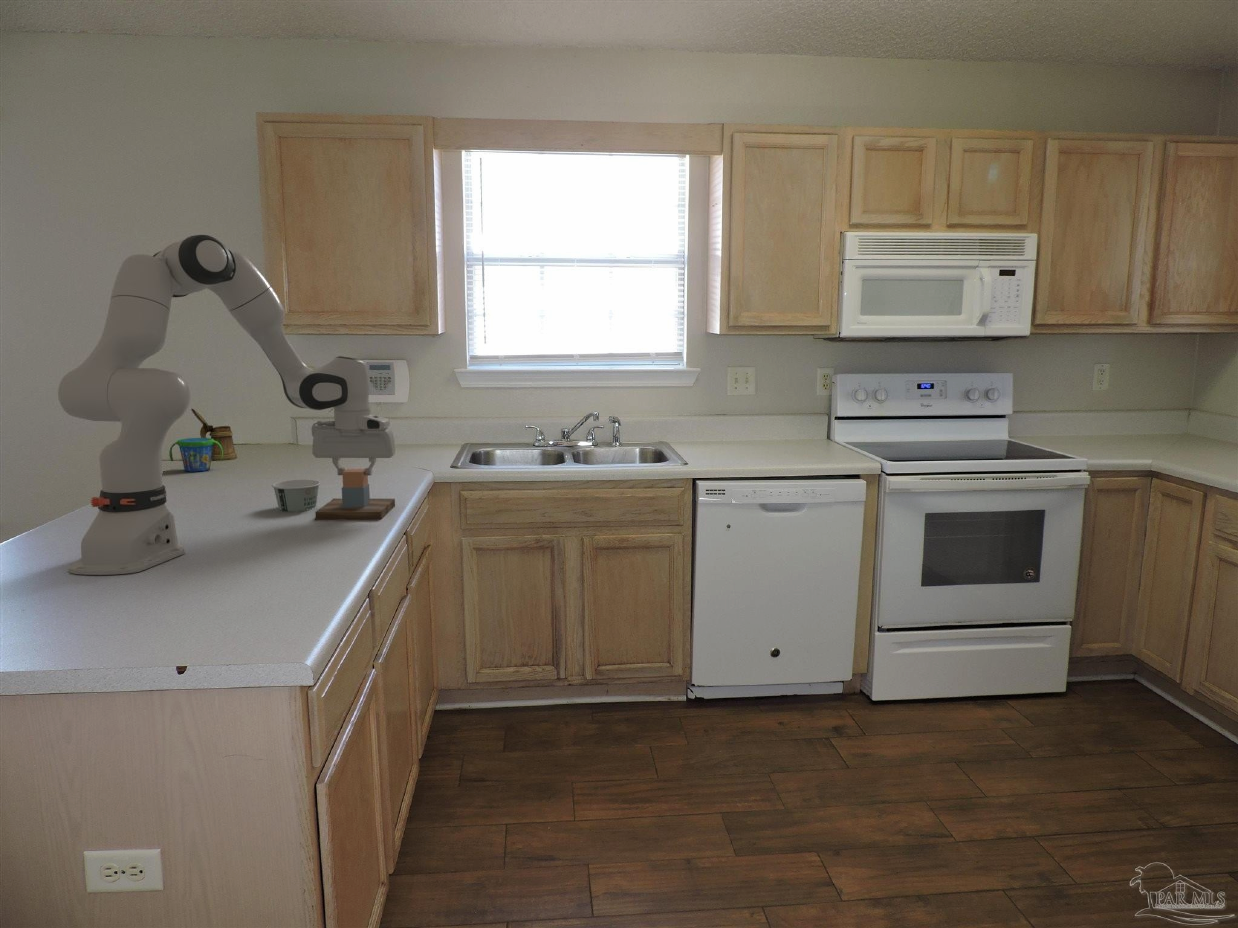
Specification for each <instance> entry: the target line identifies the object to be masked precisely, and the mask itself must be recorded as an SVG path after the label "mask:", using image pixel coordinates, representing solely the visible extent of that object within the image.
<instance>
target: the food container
mask: <svg viewBox="0 0 1238 928" xmlns="http://www.w3.org/2000/svg"><path fill="white" fill-rule="evenodd" d="M320 485H321V482H320V481H319V480H315V479H289V480H288V479H287V480H281V481H277V482H274V483H272V484H271V487H272V488H273V490H274V493H275V494H274V495H275V499H276V503H277V507H278V510H279V509H280V511H283V512H289V511H295V512H304V511H303V510H306V511H308V510H307V509H311V510H313V509H312V508H314V509H316V508H317V502H318V494H319V486H320ZM315 507H316V508H315Z"/></svg>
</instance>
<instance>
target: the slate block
mask: <svg viewBox="0 0 1238 928" xmlns="http://www.w3.org/2000/svg"><path fill="white" fill-rule="evenodd" d="M370 495H371V494H370V483H368V484H367V485H366V486H365V487H363V488H343V486H342V487H341V499H342V507H365V506H367V505H368V504H369V503H370V499H371V496H370Z"/></svg>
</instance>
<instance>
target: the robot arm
mask: <svg viewBox="0 0 1238 928" xmlns="http://www.w3.org/2000/svg"><path fill="white" fill-rule="evenodd" d="M204 290H210V291H211V292H212V293H214V294H215V295H216V296H218V297H219V298H220V300H221V302H222V304H223V305H224V306H225V308H226V310H227V311H228V312H229V314H230V315H231V316H232V317H233V318H234V320H235V321H236V322H237V324H238V325H239V326H240V327H241V328H242V329H243V330H244V331H245V332H246V333H247V334H248V335H249V336H250V337H251V339H253V340H254V341H255V342H256V343H257V344H258V346H259V347H260V348H261V350H262V352H264V354H265V355H266V357H267V358H268V359H269V361H270V362H271V364H272V365H273V367H274V369H275V370H276V371H277V373H278V375H279V377H280V380H281V383H282V388H283V392H284V396H285V398H286V399H287V400H288V402H289V403H290V404H291V405H293V406H295V407H297V408H300V409H309V410H312V411H324V410H326V409H331V408H333V419H334V420H327V421H324V420H323V421H322V420H318V421H317V422H315V423H313V424H312V426H311V436H312V438H313V439H312V449H311V450H312V453H311V454H312V455H313V456H314V457H315V458H317V459H318V458H319V459H321V458H322V459H328V458H329V459H331V460H332V462H331V463H332V464H333V465H334V467H335V468H336V472H337V473H336V474H337V476H342V472H343V471H345V470H346V468H345V467H342V465H341V464H340V461H341V459H368V462H369V466H368V467H365V468H364V469H365V475H368V476H372V475H373V468H374V466H375V464H376V463H377V459H390V458H392V457H393V456H395V454H396V442H395V436H394V433H393V430H392V429H390V428H389V426H390V419H389V418H386V417H385V416H384V417H383V416H381V415H378V414H373V413H371V412H372V411H371V405H370V400H369V398H370V397H369V396H370V395H371V394H370V393H371V390H370V389H371V388H370V387H371V386H370V376H369V370H368V367H367V364H366V362H365V361H364V360H362V359H360V358H355V357H349V356H348V357H347V356H344V355H343V356H342V355H338V356H335V357H334V358H333V359H332V360H330V361H329V362H328V363H326V364H324V365H322V366H321V367H318V368H315V369H313V368H310V367H309V366H307V365H306V364H305V363H304V362H303V361H302V359H301V357H300V356H299V355H298V353H297V352H296V350H295V349H294V347H293V346H292V344H291V342H289V339H288V337H287V336H286V334H285V330H284V321H285V317H286V316H285V315H286V312H285V308H284V306H283V304H282V303H281V300H280V298H279V296H278V294H277V293H276V291H275V290H274V288H273V287H272V286H271V284H270V282H269V281H268V280H267V279H266V278H265V277H264V275H263V274H262V273H261V271H260V270H259V269H258V268H257V267H256V266H255V265H254V263H252V262H251V260H249V259H248V258H247V257H246V256H245V255H244V254H242V253H241V252H237V251H232V250H230V249H228V248H227V246H226V245H225V244H224V243H223V242H221V241H220V240H218V239H217V238H215V237H213V236H211V235H209V234H208V235H207V234H195V235H190V236H187V237H186V238H185V239H182V240H180V241H176V242H173V243H171V244H169V245H167V246H166V247H165V248H163V249H162V250H160V251H158V252H155V253H154V254H153V255H149V254H143V253H139V254H133V255H130V256H128V257H126V258H125V259H124V260H123V261H122V263H121V265H120V267H119V269H118V272H117V275H116V277H115V280H114V283H113V287H112V290H111V295H110V299H109V305H108V310H107V315H106V319H105V324H104V327H103V330H102V333H101V337H100V339H99V340H98V342H97V344H96V346H95V348H94V349H93V350H92V352H91V353H90V354H89V356H88V357H86V358H85V360H84V361H82V363H81V364H79V365H78V366H77V367H75V368H74V369H72V370H71V371H69V372H67V373H66V374H65V375H63V377H62V379H61V380H60V382H59V384H58V387H57V388H58V389H57V397H58V400H59V404H60V407H61V408H62V409H63V411H64V412H65V413H66V414H68V416H71V417H73V418H74V417H75V418H77V419H78V418H79V419H83V420H86V421H87V420H88V421H90V422H117V423H118V422H120V423H121V426H120V427H121V429H120V432H119V435H118V437H117V439H116V440H113V441H111V442H110V443H108V444H106V446H104V448H102V449H101V451H100V454H99V457H98V458H99V470H100V479H101V490H100V491H99V497H97V496H93V497H91V500H90V506H91V508H97V509H98V513H97V515H96V516H95V518H94V519H93V521H92V523H91V524H90V525H89V527H88V529H87V531H86V533H85V534H84V535H83V537H82V539H81V543H80V553H81V555H80V556H81V557H80V558H79V559H77V560H76V561H75V562H74V563H72V564H71V565H69V567H68V569H67V570H68V573H69V574H70V573H71V574H74V575H88V576H89V575H91V576H97V575H98V576H104V575H105V576H106V575H125V574H134V573H139V572H142V571H145V570H147V569H149V568H152V567H154V566H157V565H159V564H163V563H165V562H167V561H169V560H172V559H175V558H176V557H179V556H182V555H184V554H185V553H186V551H185V547H182V546H179V541H178V535H177V528H176V523H175V517H174V514H172V512H170V511H169V509H168V508H167V506H166V503H167V501H168V500H167V490H166V486H165V485H164V483H163V469H162V467H163V466H162V464H163V463H162V462H163V461H162V454H163V445H164V442H165V439H166V436H167V434H168V432H169V430H170V429H171V427H172V426H173V425H174V423H175V422H176V421H178V420H179V419H180V418H181V417H183V415H185V413H186V412H187V410H188V408H189V407H190V403H191V391H190V388H189V385H188V383H187V381H186V380H185V378H184V377H183V376H182V375H181V374H179V373H176V372H173V371H169V370H165V369H159V368H152V367H151V368H148V367H147V368H145V367H141V368H140V366H141V365H142V363H144V361H146V360H147V359H149V358H150V357H151V356H154V355H156V354H157V353H158V352H160V351H161V350H162V349H163V347H164V345H165V343H166V336H167V332H168V331H167V330H168V325H169V324H168V323H169V319H170V312H171V306H172V299H173V298H183V297H186V296H188V295H190V294H191V295H192V294H193V293H199V292H202V291H204Z"/></svg>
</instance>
